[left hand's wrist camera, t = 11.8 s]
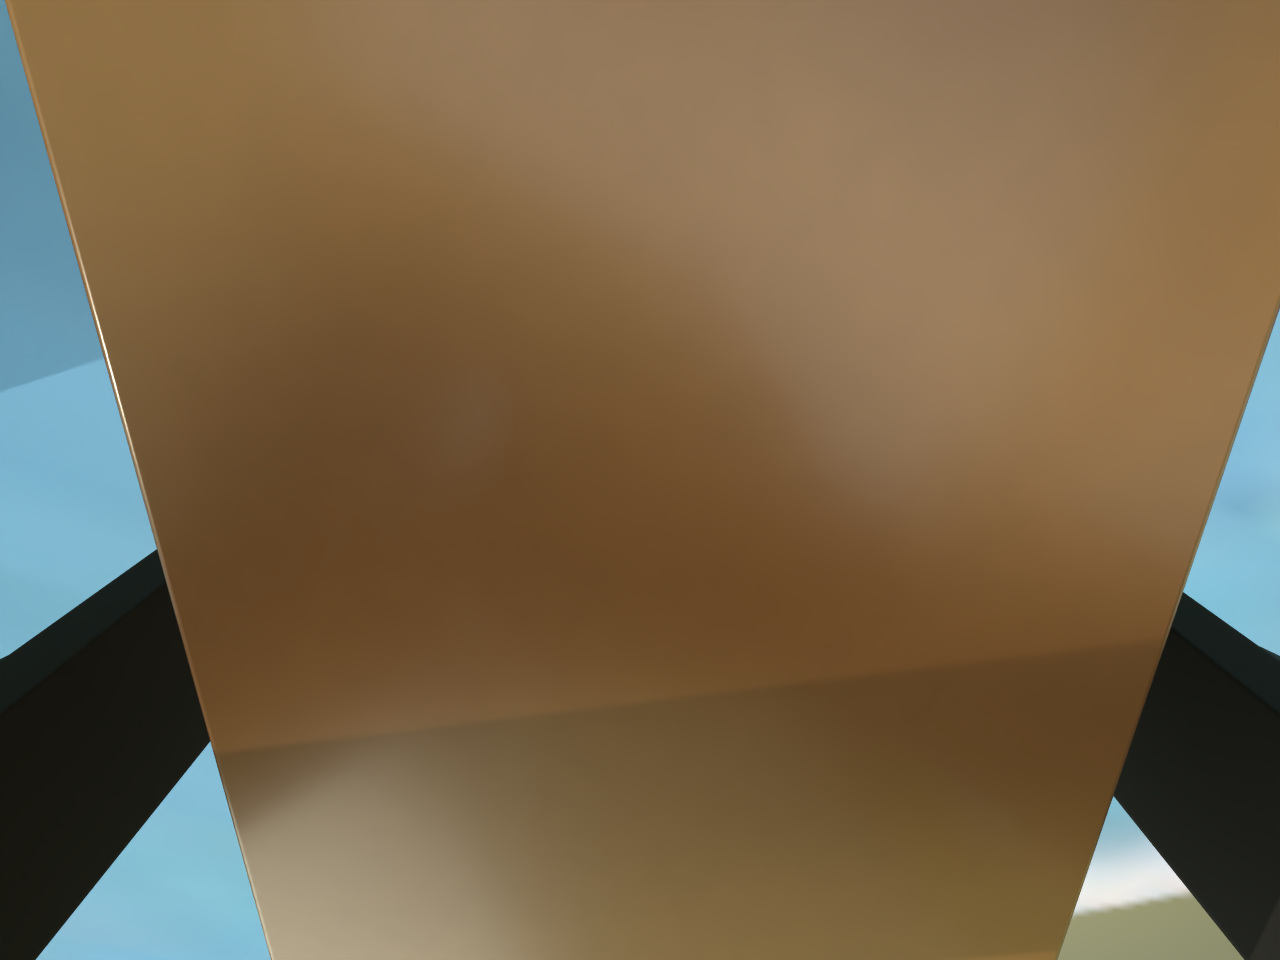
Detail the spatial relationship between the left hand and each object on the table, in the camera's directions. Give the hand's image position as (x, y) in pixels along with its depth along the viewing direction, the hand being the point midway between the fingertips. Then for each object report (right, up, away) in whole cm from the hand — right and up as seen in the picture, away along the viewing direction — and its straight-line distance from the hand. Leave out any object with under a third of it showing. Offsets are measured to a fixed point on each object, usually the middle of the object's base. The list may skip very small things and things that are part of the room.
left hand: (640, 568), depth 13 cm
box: (0, +10, +1) cm, 10 cm away
